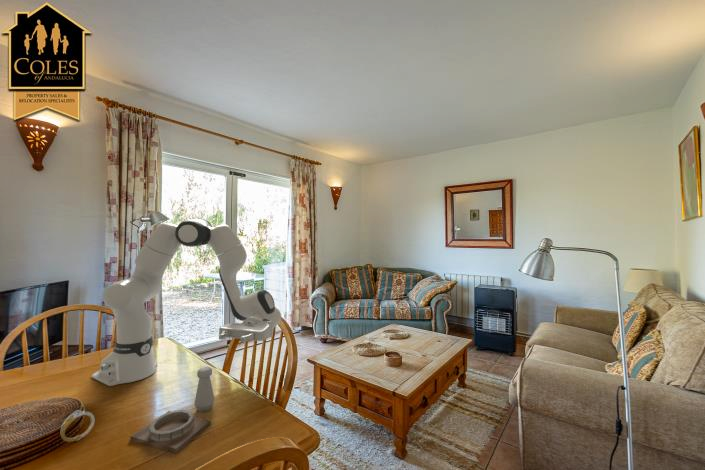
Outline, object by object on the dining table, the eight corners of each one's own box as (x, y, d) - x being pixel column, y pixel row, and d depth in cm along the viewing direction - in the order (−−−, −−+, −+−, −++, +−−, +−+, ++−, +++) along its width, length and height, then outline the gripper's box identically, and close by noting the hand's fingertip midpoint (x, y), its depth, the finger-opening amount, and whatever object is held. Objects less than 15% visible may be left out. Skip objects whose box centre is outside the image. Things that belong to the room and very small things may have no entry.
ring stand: (130, 440, 81) (130, 428, 81) (169, 414, 92) (169, 404, 92) (176, 453, 76) (176, 441, 76) (210, 424, 88) (210, 413, 88)
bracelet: (61, 449, 77) (61, 419, 77) (59, 444, 79) (59, 414, 79) (96, 435, 83) (96, 406, 83) (92, 430, 85) (92, 402, 85)
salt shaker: (200, 416, 92) (201, 374, 92) (190, 410, 95) (190, 369, 95) (218, 406, 97) (218, 367, 97) (207, 401, 100) (207, 363, 100)
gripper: (232, 317, 124) (207, 327, 110) (275, 320, 118) (254, 332, 104) (232, 332, 124) (207, 344, 110) (276, 336, 118) (255, 350, 104)
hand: (231, 338), depth 107 cm, fingers open, 8 cm apart
